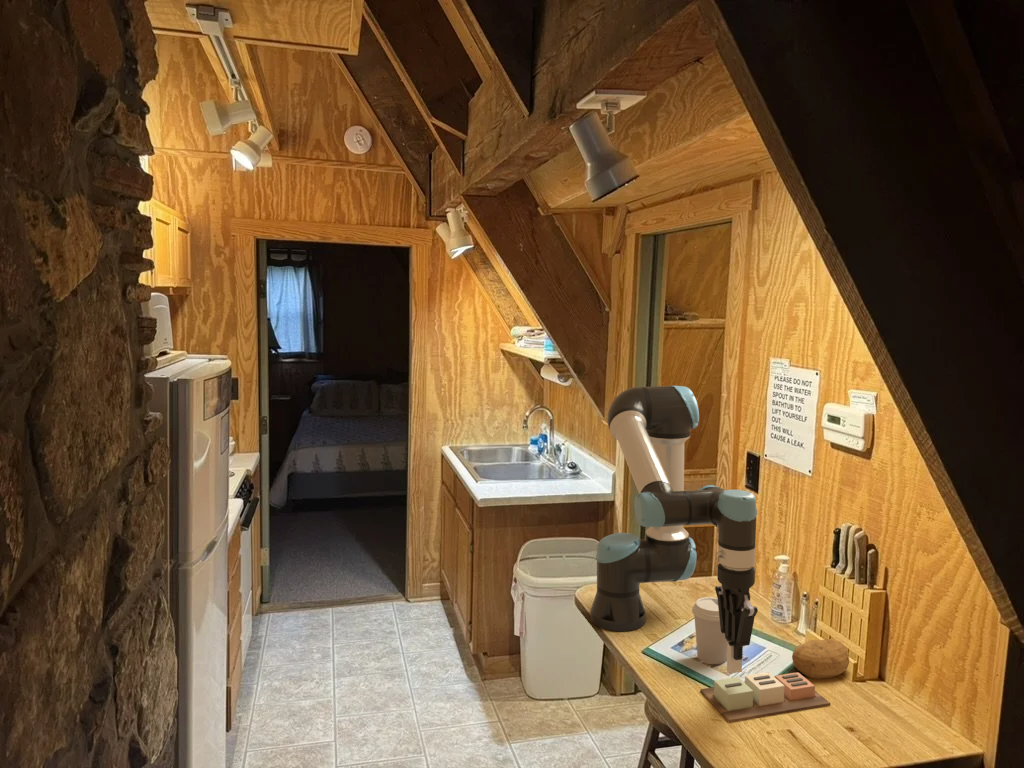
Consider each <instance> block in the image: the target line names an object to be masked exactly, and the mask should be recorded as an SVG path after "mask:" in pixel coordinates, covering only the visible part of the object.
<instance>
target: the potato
mask: <svg viewBox="0 0 1024 768" xmlns="http://www.w3.org/2000/svg"><path fill="white" fill-rule="evenodd" d="M849 656H850V655H849V650H848V649H847V647H846V646H845V645H844V644H843V643H842V642H841V641H839V640H837V639H834V638H827V639H826V638H825V639H820V640H819V639H815V640H814V639H812V640H808V641H805V642H803V643H802V644H800V645H798V646H796V648H795V649H794V650H793V651H792V656H791V658H792V660H791V661H792V663H793V666H794V667H795V668H796V669H797V671H799V673H800V674H801V675H802V674H803V675H804V676H806V677H808V678H810V679H830V678H835V677H838V676H840V675H841V674H842V673H844V672H845V671H846V670H847V669H848V667H849V665H850V657H849Z"/></svg>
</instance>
